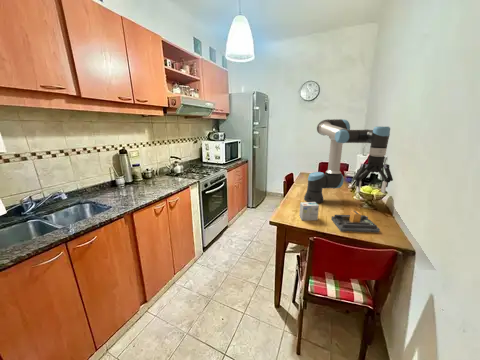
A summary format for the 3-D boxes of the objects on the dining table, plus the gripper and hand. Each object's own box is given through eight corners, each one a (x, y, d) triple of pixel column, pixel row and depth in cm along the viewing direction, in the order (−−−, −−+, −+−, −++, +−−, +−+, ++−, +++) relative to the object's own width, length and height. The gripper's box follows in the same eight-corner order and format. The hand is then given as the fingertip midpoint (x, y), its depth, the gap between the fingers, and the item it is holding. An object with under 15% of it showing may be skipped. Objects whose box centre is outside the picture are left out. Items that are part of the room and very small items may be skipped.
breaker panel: (331, 219, 134) (332, 213, 133) (365, 220, 132) (366, 214, 131) (340, 231, 120) (341, 224, 118) (379, 232, 118) (380, 225, 117)
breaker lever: (349, 220, 128) (350, 210, 126) (355, 220, 127) (357, 210, 126) (352, 223, 123) (354, 213, 121) (359, 223, 123) (361, 214, 121)
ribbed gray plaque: (334, 216, 133) (334, 214, 132) (366, 217, 131) (366, 215, 131) (343, 227, 119) (343, 224, 119) (379, 228, 118) (379, 226, 117)
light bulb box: (313, 216, 139) (315, 201, 136) (317, 220, 133) (319, 205, 130) (298, 216, 139) (299, 201, 136) (301, 220, 133) (303, 205, 130)
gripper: (356, 156, 108) (350, 193, 113) (406, 156, 105) (397, 194, 111) (350, 154, 115) (345, 189, 121) (396, 154, 112) (389, 190, 118)
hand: (370, 192), depth 116 cm, fingers open, 13 cm apart
